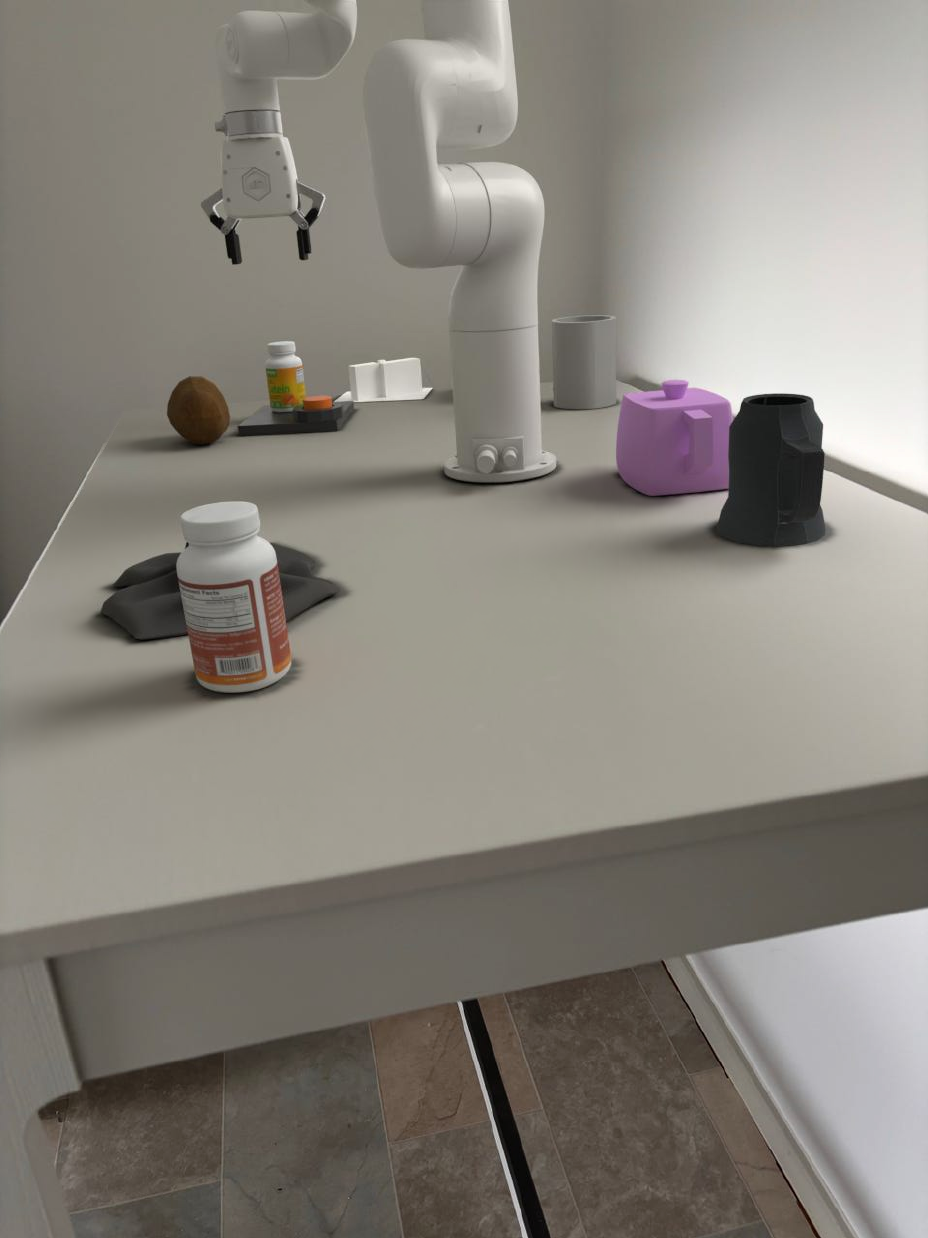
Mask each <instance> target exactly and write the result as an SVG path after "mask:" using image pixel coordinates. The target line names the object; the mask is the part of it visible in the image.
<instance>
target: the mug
mask: <svg viewBox="0 0 928 1238" xmlns="http://www.w3.org/2000/svg"><path fill="white" fill-rule="evenodd" d="M823 435H824V423H823V422H822V420H821V418H820V417H819V415H818V413H817V411H816V410H815V402H814V399H813V398H812V397H811V396H809V395H805V394H798V393H786V392H785V393H784V392H783V393H762V394H761V393H760V394H754V395H748V396H746V397H744V398H743V399H742V400H741V403H740V406H739V411H738V412H737V414H736V416H735V417H733V421H732V423H731V424H730V426H729V449H728V460H729V488H728V491H727V492H728V494H727V498H726V499H725V502H724V503H723V505H722V508H721V510H720V514H719V518H718V522H717V525H716V529H715V530H716V532H717V533H718V535H719V536H721V537H723V538H725V539H727V540H729V541H733V542H736V543H740V544H746V545H752V546H766V547H784V546H796V545H804V544H808V543H811V542H814V541H817V540H820V539H821V538H823V537H824V536H825V535H826V524H825V517H824V511H823V508H822V506H821V501H822V492H823V483H824V482H823V480H824V469H825V457H826V456H825V455H826V453H825V451H824V449H823V437H824V436H823Z"/></svg>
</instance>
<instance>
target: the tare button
mask: <svg viewBox="0 0 928 1238" xmlns="http://www.w3.org/2000/svg"><path fill="white" fill-rule="evenodd" d="M332 402H333V401H332V396H330V395H313V396H306V398H304V399H303V407H304V409H307V410H315V409H325V408H330V407H332Z"/></svg>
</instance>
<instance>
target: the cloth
mask: <svg viewBox="0 0 928 1238" xmlns="http://www.w3.org/2000/svg"><path fill="white" fill-rule="evenodd" d="M269 543H270V544H271V545H272V547H273V548H274V550H275V553H276V558H277V564H278V570H279V577H280V584H281V592H282V598H283V605H284V612H285V619H286V622H288V621H290V620H291V619H292V618H293V617H295V616H296V615H299V614H300V613H302V612H303V611H305V610H307V609H309V608H310V607H312V606H313V605H315V604H317V603H319V602H320V601H322V600H324V599H326V598H328V597H332V596H334V595H336V594H338V593H339V592H340V588H339V587H338V586H337V585H336V583H334V582H331V581H330V580H327V579H325V578H322V577H317V576H314V575H313V574H311V571H312V569H313V568H314V567H315V565H316V562H315V560H314V559H313V558H312V557H311V556H309V555H308V554H307V553H303V552H301V551H299V550H297V549H293V548H291V547H287V546H283V545H280V544H277V543H273V542H269ZM188 546H189V543H188V542H186V541H185V547H184V549H186V548H187V547H188ZM181 553H182V551H181V552H179V551H178V552H166V553H163V554H162V553H161V554H160V555H156V556H153V557H150V558H147V559H145V560H142V561H140V562H138V563H135V564H133V565H131V566H129V567H128V568H126V569H125V570H124V571H123V572H122V573H121V575H120V576H119V577H118V578H117V579H116V580H115V582H114V583H112V586H113V587H117V588H119V587H125V588H122V589H119V590H117V591H115V592H114V593H113V594H112V595H111V596H109V597H108V598H106V600H105V601H103V604H102V606H101V609H100V613H102V614H103V616H106V617H108V618H110V619H111V620H113V621H114V622H115V623H117V624H119V625H120V626H122V628H124V629H125V630H126V631H127V632H128V633H129V634H130V635H132V636H133V638H134V639H139V640H142V641H143V640H154V639H161V638H170V637H177V636H184V635H188V630H187V624H186V619H185V613H184V608H183V603H182V597H181V592H180V586H179V581H178V575H177V567H176V564H177V560H178V557H179V556H180V554H181Z"/></svg>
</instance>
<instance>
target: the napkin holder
mask: <svg viewBox="0 0 928 1238" xmlns="http://www.w3.org/2000/svg"><path fill="white" fill-rule="evenodd" d="M421 366H422V365H421V358H418V357H406V358H399V359H394V360H393V359H392V360H387V361H386V359H378V360H376V362H374V361H370V362H365V363H357V364H349V365H347V367H348V378H349V379H348V380H349V387H350V391H346V392H344V393H343V394H341V395H340V396H339V397H338V398H337V399H335V400H334V401H333V402H341V401H353V402H354V403H366V402H368V403H369V402H388V401H391V402H392V401H413V400H415V401H416V400H424V399H425V398H426V397H427V395H428V394H429V393H430V392H431V390H432V389H433V387H423V380H422V368H421Z"/></svg>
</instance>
